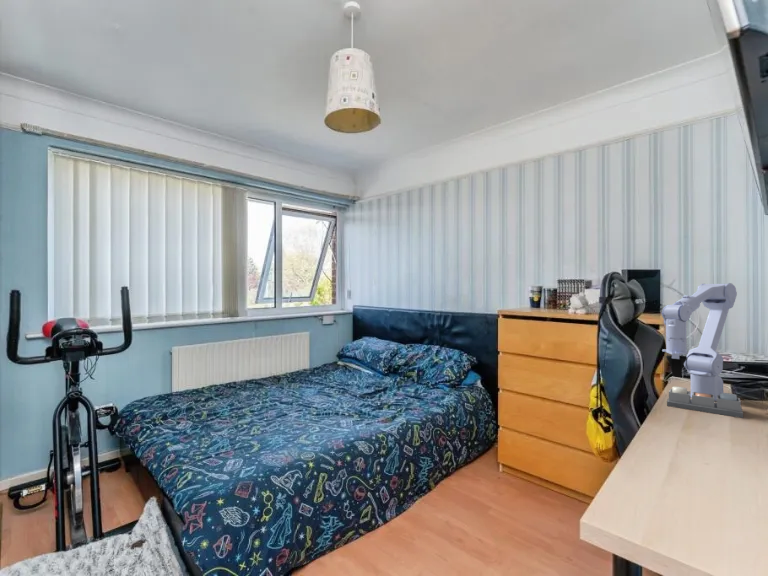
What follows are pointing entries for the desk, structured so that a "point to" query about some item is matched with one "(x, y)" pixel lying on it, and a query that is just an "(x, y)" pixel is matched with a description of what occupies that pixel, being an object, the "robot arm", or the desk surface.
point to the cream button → (679, 390)
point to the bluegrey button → (728, 396)
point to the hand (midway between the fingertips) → (676, 376)
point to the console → (705, 404)
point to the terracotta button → (703, 394)
